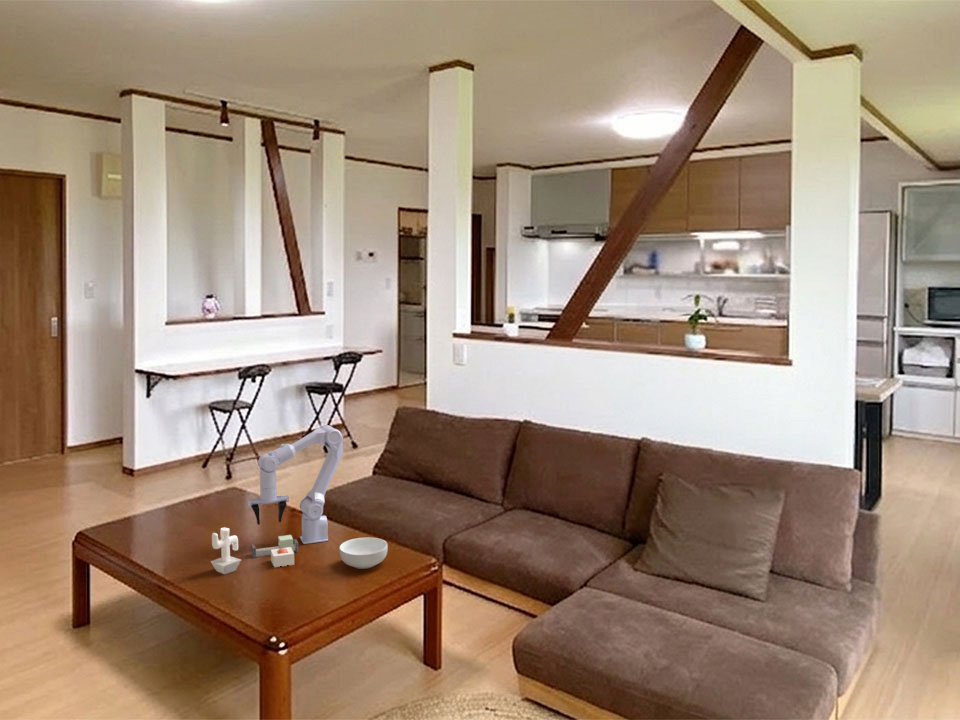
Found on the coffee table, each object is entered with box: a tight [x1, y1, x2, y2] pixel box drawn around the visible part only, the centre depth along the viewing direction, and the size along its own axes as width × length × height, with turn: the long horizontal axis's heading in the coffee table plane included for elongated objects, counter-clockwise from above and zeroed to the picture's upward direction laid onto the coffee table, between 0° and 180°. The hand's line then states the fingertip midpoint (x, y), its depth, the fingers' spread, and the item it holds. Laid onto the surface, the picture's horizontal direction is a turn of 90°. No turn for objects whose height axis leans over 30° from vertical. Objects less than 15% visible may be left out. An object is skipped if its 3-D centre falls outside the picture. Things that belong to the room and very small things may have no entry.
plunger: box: [278, 548, 287, 554], centre depth 274 cm, size 3×3×4 cm
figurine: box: [210, 526, 242, 575], centre depth 265 cm, size 7×9×15 cm
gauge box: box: [270, 547, 295, 568], centre depth 274 cm, size 7×7×4 cm
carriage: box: [277, 534, 294, 550], centre depth 284 cm, size 5×5×5 cm
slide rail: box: [251, 538, 299, 559], centre depth 283 cm, size 16×4×4 cm, turn 113°
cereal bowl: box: [339, 536, 389, 570], centre depth 272 cm, size 17×17×7 cm
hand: (269, 522), depth 288 cm, fingers open, 7 cm apart
